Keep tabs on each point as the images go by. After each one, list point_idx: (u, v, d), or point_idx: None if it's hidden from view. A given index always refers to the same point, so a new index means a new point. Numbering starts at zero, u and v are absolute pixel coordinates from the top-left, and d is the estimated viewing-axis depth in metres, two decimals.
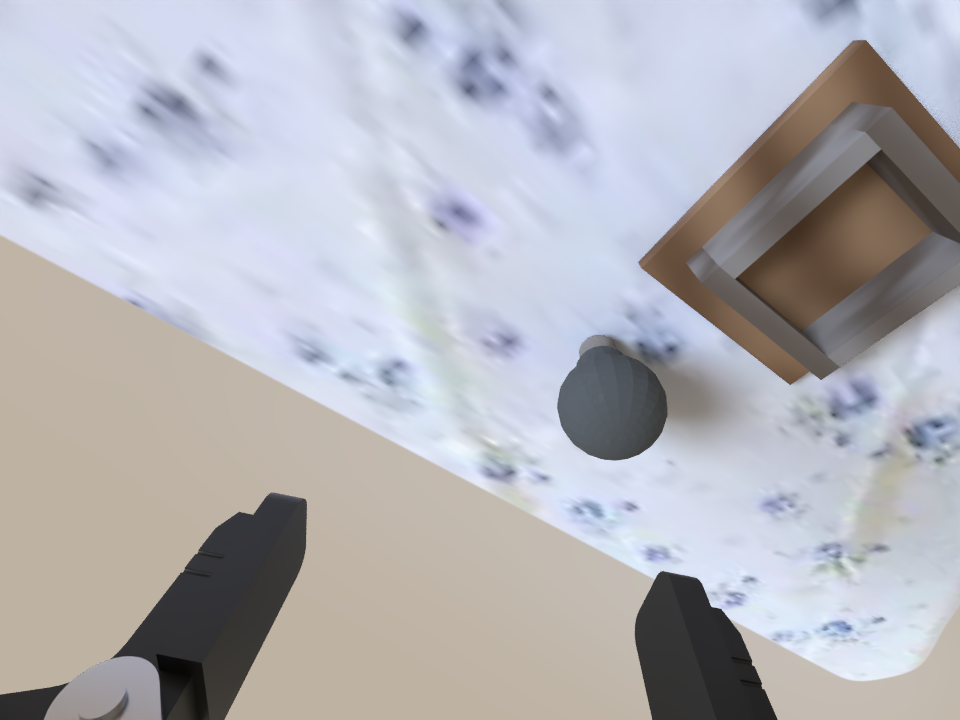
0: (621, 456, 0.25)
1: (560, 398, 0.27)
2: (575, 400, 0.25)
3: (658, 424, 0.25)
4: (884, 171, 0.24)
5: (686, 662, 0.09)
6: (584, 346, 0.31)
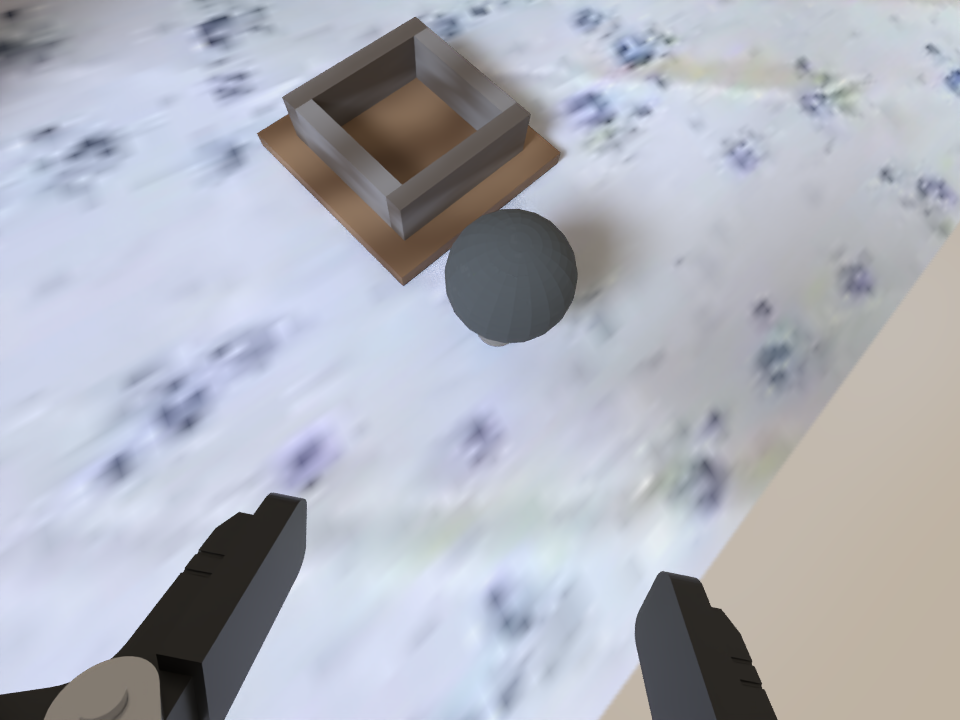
0: (550, 244, 0.19)
1: (486, 331, 0.21)
2: (473, 303, 0.20)
3: (511, 210, 0.20)
4: (348, 105, 0.30)
5: (686, 662, 0.09)
6: (484, 337, 0.27)
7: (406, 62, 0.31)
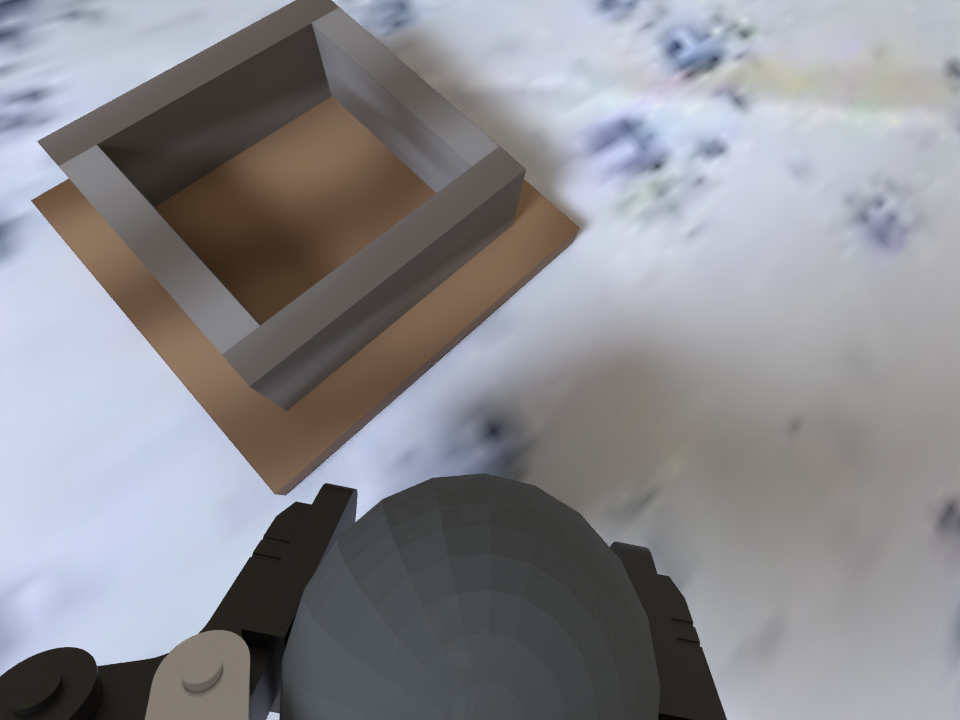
0: (591, 705, 0.06)
1: None
2: None
3: (465, 525, 0.07)
4: (194, 150, 0.17)
5: None
6: None
7: (305, 71, 0.17)
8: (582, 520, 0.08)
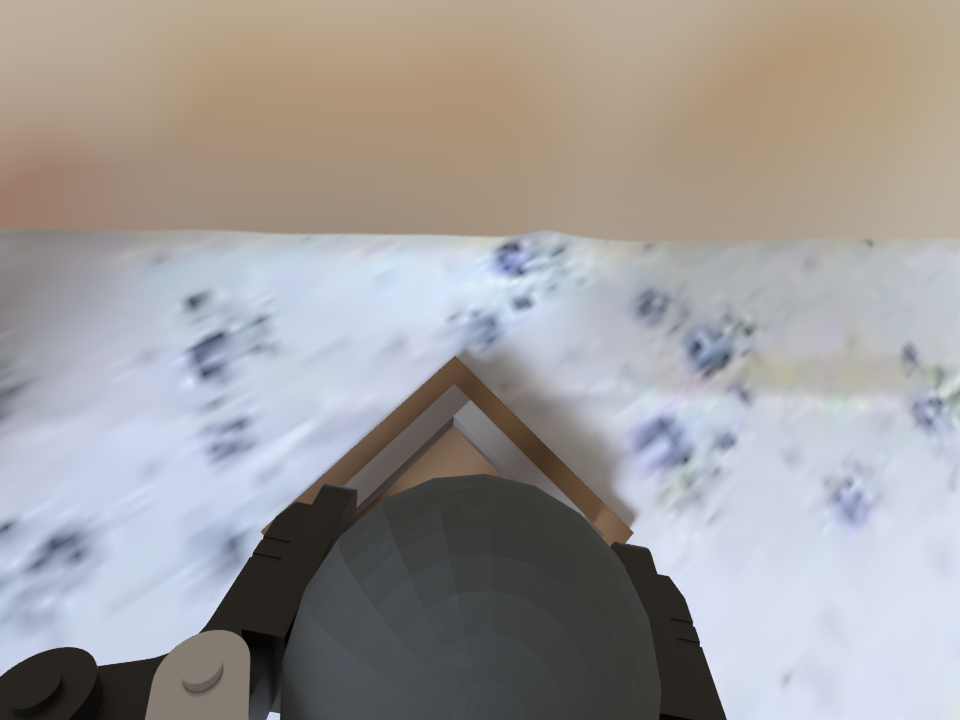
0: (593, 706, 0.06)
1: None
2: None
3: (466, 525, 0.07)
4: (373, 499, 0.24)
5: None
6: None
7: (443, 431, 0.25)
8: (583, 520, 0.08)
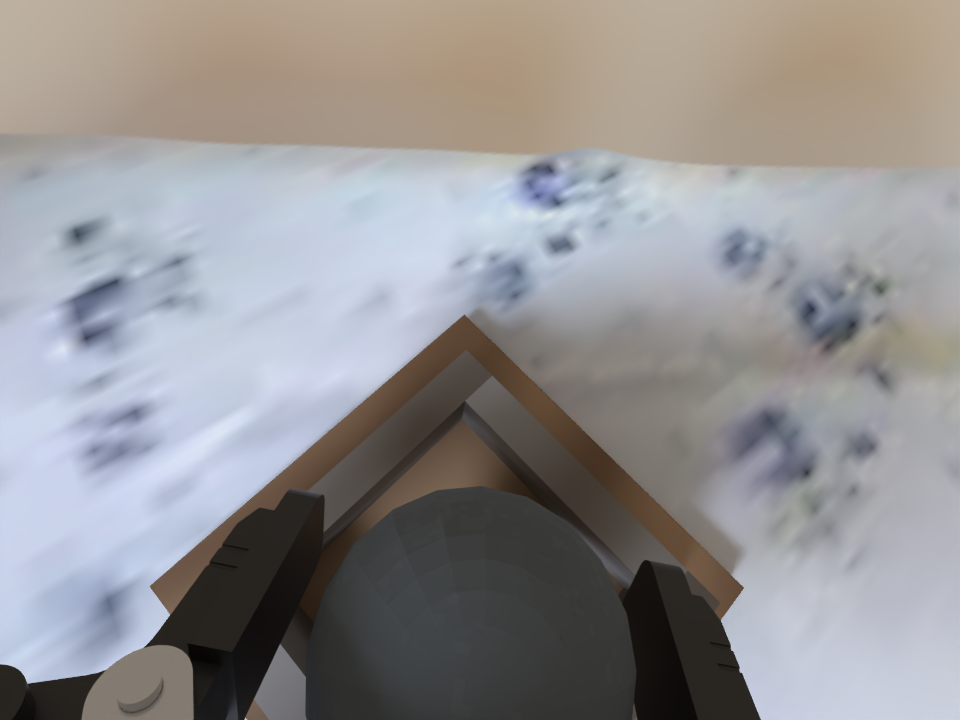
0: (571, 686, 0.07)
1: None
2: None
3: (464, 534, 0.08)
4: (332, 535, 0.15)
5: (666, 647, 0.09)
6: None
7: (446, 426, 0.16)
8: (569, 528, 0.09)
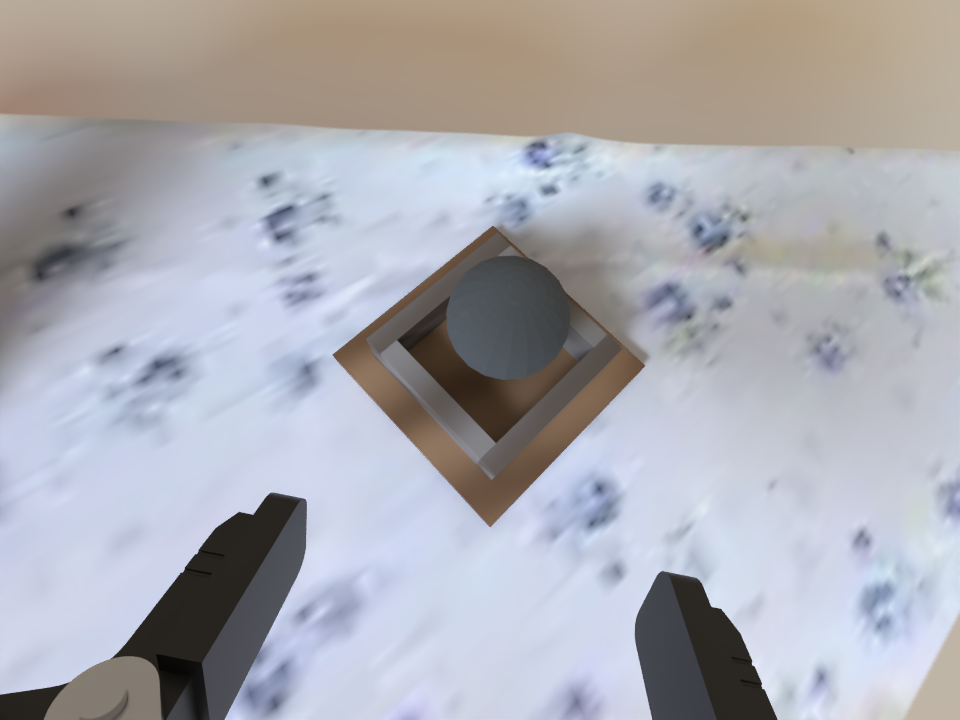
0: (544, 291, 0.21)
1: (486, 370, 0.22)
2: (473, 346, 0.21)
3: (508, 257, 0.22)
4: (428, 327, 0.29)
5: (686, 662, 0.09)
6: None
7: None
8: None
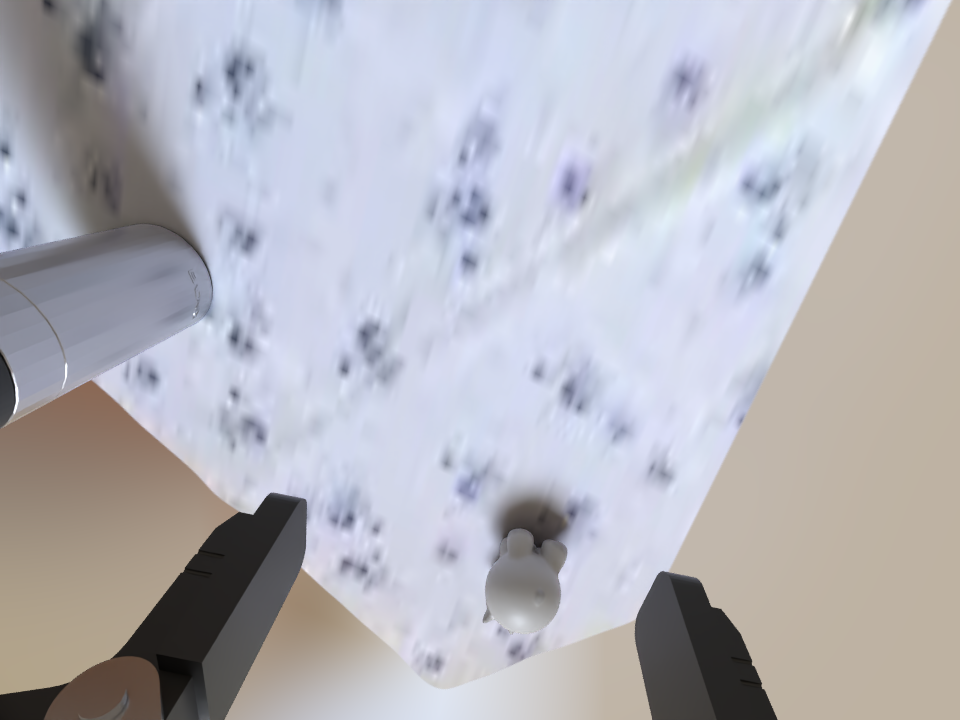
0: None
1: None
2: None
3: None
4: None
5: (686, 662, 0.09)
6: None
7: None
8: None
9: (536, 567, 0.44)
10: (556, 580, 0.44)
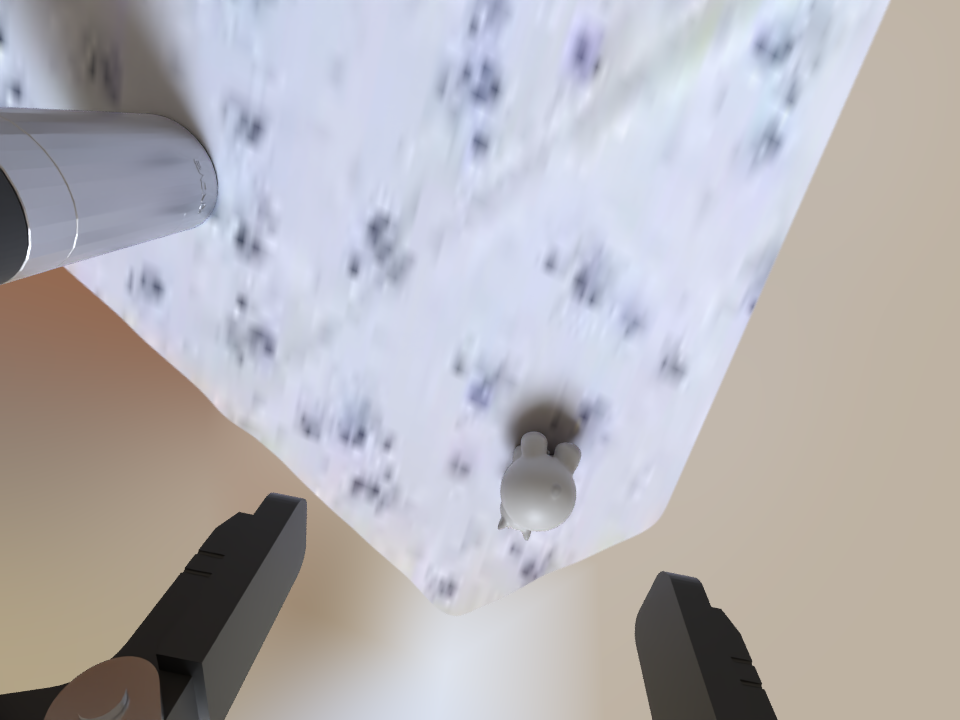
0: None
1: None
2: None
3: None
4: None
5: (686, 662, 0.09)
6: None
7: None
8: None
9: (551, 464, 0.44)
10: (571, 478, 0.44)
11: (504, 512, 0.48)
